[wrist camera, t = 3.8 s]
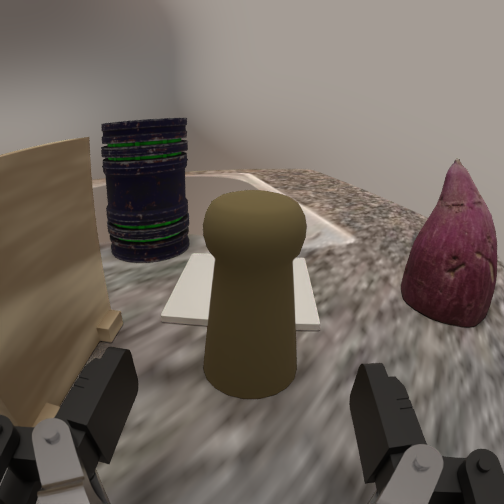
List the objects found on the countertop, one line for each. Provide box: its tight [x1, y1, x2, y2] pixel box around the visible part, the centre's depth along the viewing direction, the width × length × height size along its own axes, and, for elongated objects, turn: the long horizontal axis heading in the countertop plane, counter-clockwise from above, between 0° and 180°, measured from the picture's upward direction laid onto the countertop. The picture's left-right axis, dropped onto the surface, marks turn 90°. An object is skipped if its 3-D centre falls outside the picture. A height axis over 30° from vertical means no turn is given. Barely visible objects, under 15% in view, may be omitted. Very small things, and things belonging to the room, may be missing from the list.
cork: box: [203, 190, 307, 399], centre depth 18 cm, size 6×6×11 cm
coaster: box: [161, 253, 320, 331], centre depth 29 cm, size 12×12×1 cm
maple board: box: [0, 137, 123, 427], centre depth 15 cm, size 4×13×14 cm, turn 177°
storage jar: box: [101, 118, 189, 263], centre depth 35 cm, size 10×10×15 cm
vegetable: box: [401, 158, 497, 327], centre depth 27 cm, size 10×10×15 cm
